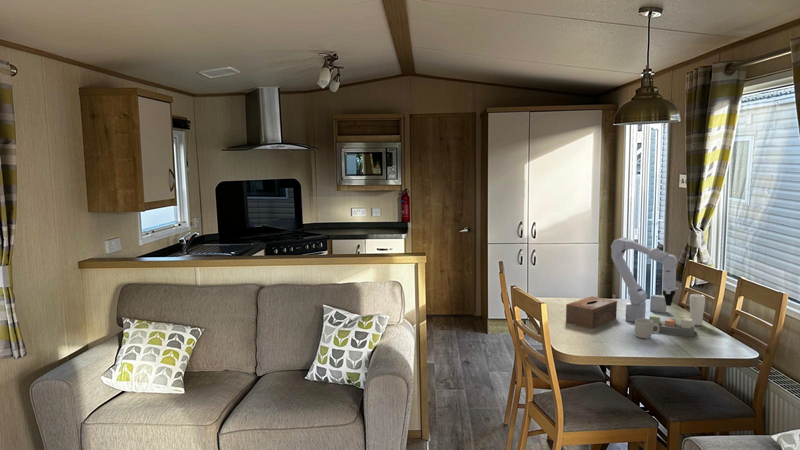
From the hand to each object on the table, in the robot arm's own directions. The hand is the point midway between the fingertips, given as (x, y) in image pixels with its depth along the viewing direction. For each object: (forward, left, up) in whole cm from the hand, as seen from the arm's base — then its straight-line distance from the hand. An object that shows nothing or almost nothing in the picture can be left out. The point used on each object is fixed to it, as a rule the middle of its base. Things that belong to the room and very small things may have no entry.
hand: (668, 305), depth 285 cm
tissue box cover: (-36, -9, -11) cm, 38 cm away
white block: (+9, -9, -8) cm, 15 cm away
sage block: (-5, -9, -8) cm, 13 cm away
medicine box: (-6, +28, -11) cm, 31 cm away
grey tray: (+2, -9, -10) cm, 14 cm away
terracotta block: (+2, -9, -9) cm, 13 cm away
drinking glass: (+13, +9, -11) cm, 19 cm away
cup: (-7, -26, -11) cm, 29 cm away
